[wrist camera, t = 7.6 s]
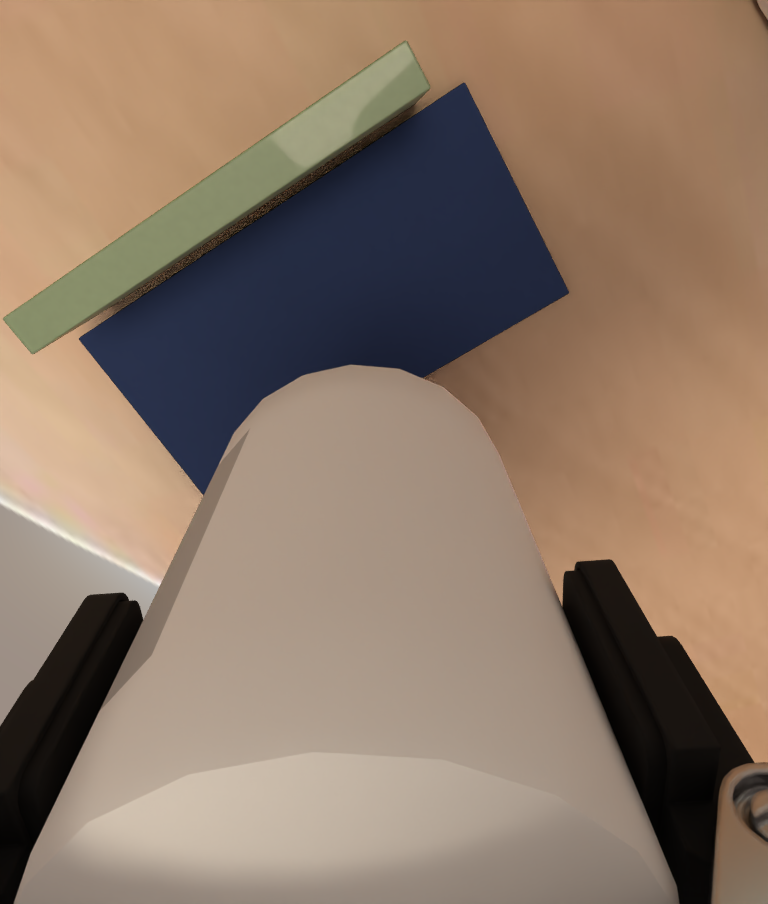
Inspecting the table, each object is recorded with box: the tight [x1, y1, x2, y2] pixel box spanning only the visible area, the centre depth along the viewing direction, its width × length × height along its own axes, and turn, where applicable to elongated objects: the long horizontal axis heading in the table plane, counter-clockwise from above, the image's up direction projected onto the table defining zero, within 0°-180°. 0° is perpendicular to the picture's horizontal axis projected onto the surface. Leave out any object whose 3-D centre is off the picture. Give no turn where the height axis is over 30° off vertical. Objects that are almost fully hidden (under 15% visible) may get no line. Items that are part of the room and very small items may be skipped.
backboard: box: [3, 41, 430, 354], centre depth 26 cm, size 2×16×8 cm, turn 121°
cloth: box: [79, 83, 569, 495], centre depth 32 cm, size 10×20×1 cm, turn 121°
